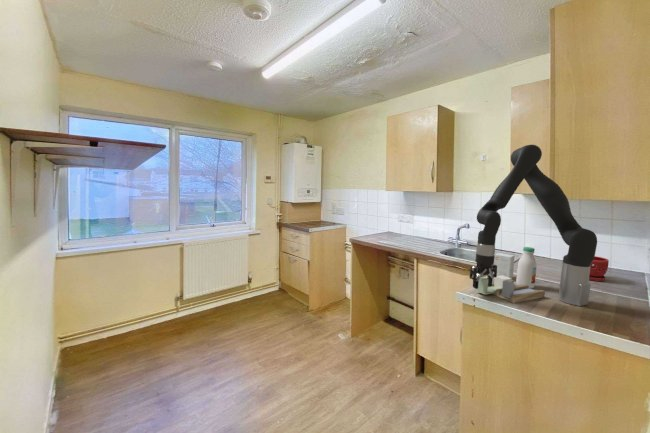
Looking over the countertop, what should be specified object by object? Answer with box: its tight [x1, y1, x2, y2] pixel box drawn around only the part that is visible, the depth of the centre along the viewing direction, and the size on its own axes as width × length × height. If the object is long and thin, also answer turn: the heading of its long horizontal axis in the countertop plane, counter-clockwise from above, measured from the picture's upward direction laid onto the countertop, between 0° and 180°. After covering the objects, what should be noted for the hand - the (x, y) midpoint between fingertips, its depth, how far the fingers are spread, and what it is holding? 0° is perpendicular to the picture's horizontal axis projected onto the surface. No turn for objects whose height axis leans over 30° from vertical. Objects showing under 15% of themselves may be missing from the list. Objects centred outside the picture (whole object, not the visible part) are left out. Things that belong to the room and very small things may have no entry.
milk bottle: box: [515, 246, 537, 289], centre depth 143 cm, size 8×8×20 cm
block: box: [493, 275, 513, 289], centre depth 136 cm, size 5×5×5 cm
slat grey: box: [500, 280, 536, 299], centre depth 130 cm, size 5×19×7 cm, turn 110°
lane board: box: [488, 279, 546, 304], centre depth 134 cm, size 16×20×3 cm
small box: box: [493, 252, 516, 279], centre depth 156 cm, size 8×6×13 cm
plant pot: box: [589, 255, 610, 282], centre depth 157 cm, size 13×13×12 cm
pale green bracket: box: [474, 276, 500, 295], centre depth 134 cm, size 5×19×7 cm, turn 110°
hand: (482, 287), depth 132 cm, fingers open, 8 cm apart
